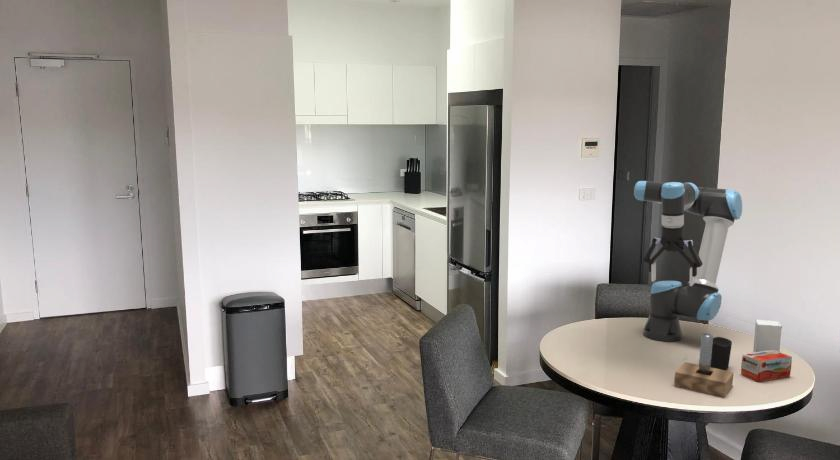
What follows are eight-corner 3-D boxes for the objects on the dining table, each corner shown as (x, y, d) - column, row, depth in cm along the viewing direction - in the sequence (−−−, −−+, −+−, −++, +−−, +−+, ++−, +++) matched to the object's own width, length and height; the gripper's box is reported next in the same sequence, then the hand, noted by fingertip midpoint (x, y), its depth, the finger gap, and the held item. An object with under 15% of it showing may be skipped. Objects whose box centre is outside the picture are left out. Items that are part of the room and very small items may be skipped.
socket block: (674, 385, 232) (675, 371, 231) (683, 375, 242) (684, 361, 241) (724, 397, 223) (725, 383, 222) (732, 386, 233) (733, 372, 232)
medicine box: (771, 369, 249) (773, 348, 248) (790, 377, 241) (792, 356, 240) (739, 375, 243) (741, 353, 242) (758, 383, 236) (760, 361, 235)
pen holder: (727, 373, 245) (729, 346, 243) (699, 367, 250) (701, 341, 248) (731, 365, 253) (733, 339, 251) (704, 360, 257) (706, 334, 256)
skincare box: (775, 360, 258) (780, 321, 255) (778, 366, 252) (783, 326, 249) (751, 358, 260) (755, 318, 258) (753, 363, 254) (757, 323, 252)
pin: (696, 386, 232) (700, 335, 229) (698, 383, 235) (703, 332, 232) (707, 388, 230) (711, 337, 227) (709, 385, 233) (714, 334, 230)
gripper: (634, 225, 249) (634, 281, 254) (706, 230, 234) (705, 289, 239) (641, 221, 255) (641, 276, 260) (712, 226, 240) (711, 283, 245)
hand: (672, 282), depth 249 cm, fingers open, 13 cm apart
